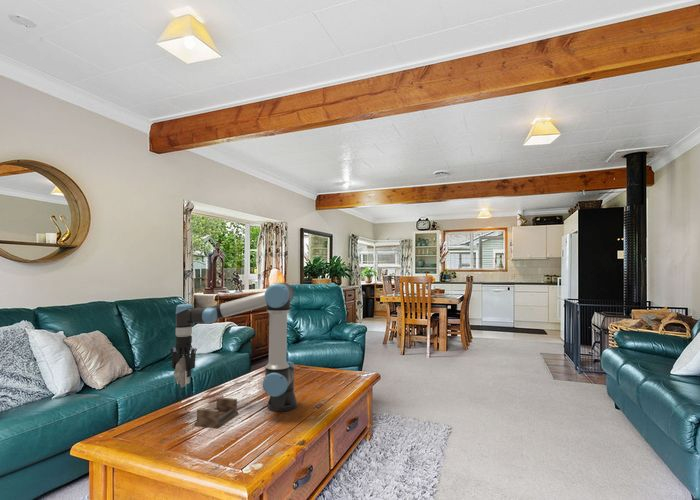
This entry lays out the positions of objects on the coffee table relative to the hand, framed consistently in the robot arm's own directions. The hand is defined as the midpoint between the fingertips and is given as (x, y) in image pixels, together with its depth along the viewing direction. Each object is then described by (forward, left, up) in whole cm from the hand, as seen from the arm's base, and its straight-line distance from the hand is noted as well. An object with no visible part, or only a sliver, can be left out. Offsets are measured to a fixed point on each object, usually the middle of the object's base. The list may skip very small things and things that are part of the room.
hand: (183, 383), depth 188 cm
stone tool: (0, 0, -2) cm, 2 cm away
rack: (-21, +2, -15) cm, 26 cm away
